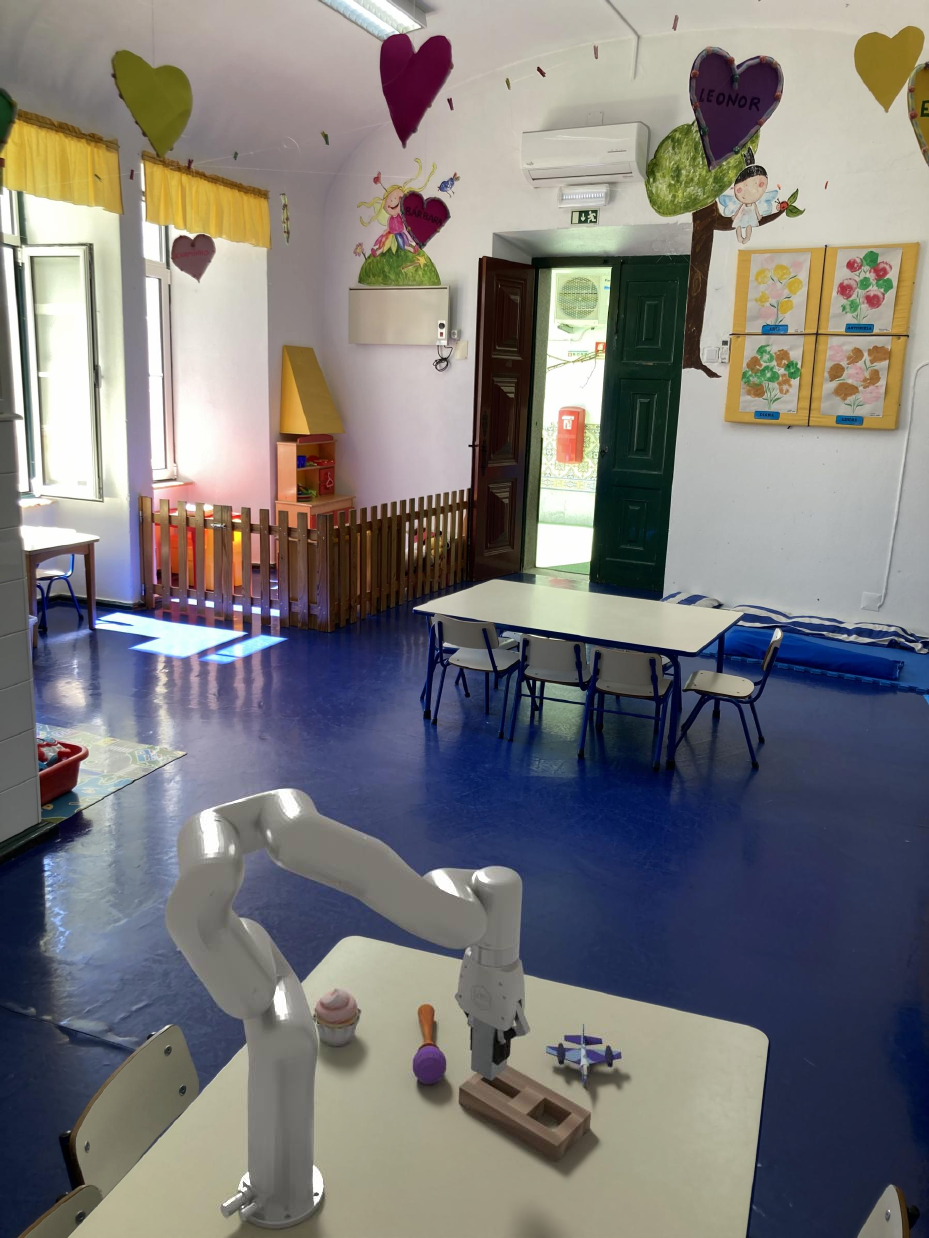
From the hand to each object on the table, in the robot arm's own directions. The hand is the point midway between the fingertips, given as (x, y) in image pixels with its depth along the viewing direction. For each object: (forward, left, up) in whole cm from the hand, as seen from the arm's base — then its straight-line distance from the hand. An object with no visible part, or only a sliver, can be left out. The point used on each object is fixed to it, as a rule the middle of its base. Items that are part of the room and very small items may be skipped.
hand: (489, 1052), depth 151 cm
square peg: (0, 0, -3) cm, 3 cm away
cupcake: (+3, +38, -18) cm, 42 cm away
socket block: (+10, 0, -17) cm, 20 cm away
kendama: (+12, +22, -18) cm, 31 cm away
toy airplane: (+27, -2, -18) cm, 32 cm away
